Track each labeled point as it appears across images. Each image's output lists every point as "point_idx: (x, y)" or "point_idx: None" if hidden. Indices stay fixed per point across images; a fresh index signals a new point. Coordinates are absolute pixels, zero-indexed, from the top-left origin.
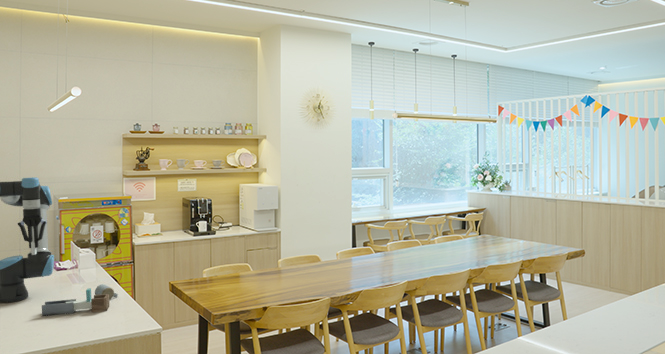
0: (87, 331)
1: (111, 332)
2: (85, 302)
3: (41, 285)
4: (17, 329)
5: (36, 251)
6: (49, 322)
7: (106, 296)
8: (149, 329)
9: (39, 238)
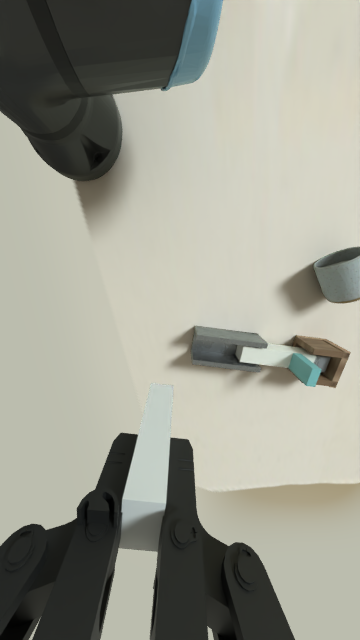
0: (268, 457)
1: (300, 474)
2: (285, 367)
3: None
4: None
5: (172, 399)
6: (208, 392)
7: (339, 374)
8: (352, 483)
9: (230, 633)
